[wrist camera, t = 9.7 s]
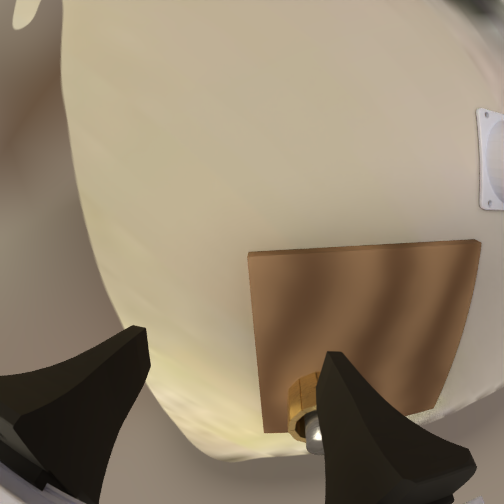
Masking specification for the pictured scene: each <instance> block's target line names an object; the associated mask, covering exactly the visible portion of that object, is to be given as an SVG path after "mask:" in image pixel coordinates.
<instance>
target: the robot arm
mask: <svg viewBox="0 0 504 504" xmlns="http://www.w3.org/2000/svg"><path fill="white" fill-rule="evenodd" d="M485 114H486V116H485ZM476 116H477V126H478V137H479V153H480V200H479V204H480V207H481V208H482V209H484V210H504V114H501V113H498V112H494V111H491V110H488V109H484V108H478V109H477V110H476ZM488 201H489V205H488ZM150 367H151V363H150V356H149V349H148V341H147V332H146V328H144V327H139V326H134V325H132V326H130V327H128V328H127V329H125V330H123V331H121V332H120V333H118V334H116V335H114V336H113V337H111V338H109V339H108V340H106V341H104V342H102V343H101V344H99V345H97V346H96V347H93V348H91V349H90V350H87V351H85V352H83V353H81V354H80V355H78V356H76V357H74V358H71V359H69V360H66V361H64V362H61V363H58V364H56V365H53V366H50V367H46V368H43V369H39V370H35V371H32V372H27V373H22V374H15V375H7V376H0V504H99V498H100V493H101V488H102V483H103V479H104V476H105V472H106V468H107V464H108V461H109V458H110V455H111V452H112V449H113V446H114V443H115V441H116V438H117V435H118V433H119V430H120V428H121V426H122V424H123V422H124V420H125V418H126V417H127V415H128V413H129V411H130V409H131V407H132V406H133V404H134V402H135V400H136V398H137V397H138V394H139V393H140V391H141V389H142V387H143V385H144V383H145V380H146V378H147V375H148V372H149V370H150ZM316 408H317V415H318V420H319V426H320V432H321V438H322V443H323V449H324V456H325V474H326V496H325V497H326V498H325V504H452V503H453V502H454V497H453V493H454V492H455V491H456V490H458V489H459V488H460V487H461V486H462V485H464V484H465V483H466V482H467V481H468V480H469V479H470V478H471V477H472V476H473V475H474V473H475V471H476V468H477V466H476V464H475V462H474V459H473V457H472V455H471V453H470V451H469V449H467V448H464V447H462V446H459V445H456V444H454V443H451V442H449V441H446V440H444V439H442V438H440V437H438V436H436V435H434V434H432V433H430V432H428V431H426V430H425V429H423V428H422V427H420V426H419V425H417V424H415V423H414V422H412V421H411V420H409V419H408V418H407V417H405V416H404V415H403V414H401V413H400V412H399V411H398V410H396V409H395V408H394V407H393V406H392V405H390V404H389V403H388V402H387V401H386V400H385V399H384V398H383V397H382V396H381V395H380V394H379V393H378V392H377V391H376V390H375V389H374V388H373V387H372V386H371V385H370V384H369V383H368V382H367V381H366V380H365V378H364V377H363V376H362V375H361V374H360V373H359V371H358V370H357V369H356V368H355V367H354V366H353V364H352V363H351V362H350V361H349V360H348V358H347V357H346V356H345V355H344V354H343V353H342V352H339V351H327V353H326V356H325V359H324V363H323V366H322V369H321V372H320V376H319V379H318V382H317V385H316ZM464 504H485V503H484V501H483V498H482V496H479V497H477V498H475V499H473V500H470V501H468V502H466V503H464Z"/></svg>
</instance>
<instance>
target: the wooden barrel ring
mask: <svg viewBox="0 0 504 504" xmlns="http://www.w3.org/2000/svg"><path fill="white" fill-rule="evenodd" d="M319 376H320V372H314V373H311V374H309V375H306V376H304V377H301V378H300V379H298V380H297V381H296V382H295V383H294V384H293V385H292V386H291V387H290V388H289V389H288V397H287V415H288V432H289V433H290V434H291V435H292V436H293V438H294V439H296V440H298V441H302V442H305V443H306V434H305V422H304V415H305V414H306V413H308V412H311V411H314V410H317V408H316V385H317V382H318V379H319Z"/></svg>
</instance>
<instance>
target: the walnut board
mask: <svg viewBox="0 0 504 504" xmlns="http://www.w3.org/2000/svg"><path fill="white" fill-rule="evenodd" d="M480 251H481V242H479V241H477V240H475V239H471V240H453V241H436V242H418V243H400V244H382V245H365V246H347V247H329V248H311V249H294V250H276V251H258V252H249V253H248V256H247V258H248V269H249V280H250V291H251V302H252V313H253V323H254V334H255V345H256V355H257V366H258V376H259V387H260V397H261V407H262V417H263V427H264V433H287V432H288V415H287V397H288V389H289V388H290V387H291V386H292V385H293V384H294V383H295V382H296V381H297V380H298V379H300V378H301V377H304V376H306V375H309V374H311V373H314V372H321V369H322V366H323V363H324V359H325V356H326V353H327V351H339V352H342V353H343V354H344V355H345V356H346V357H347V358H348V360H349V361H350V362H351V363H352V364H353V366H354V367H355V368H356V369H357V370H358V371H359V373H360V374H361V375H362V376H363V377H364V378H365V380H366V381H367V382H368V383H369V384H370V385H371V386H372V387H373V388H374V389H375V390H376V391H377V392H378V393H379V394H380V395H381V396H382V397H383V398H384V399H385V400H386V401H387V402H388V403H389V404H390V405H392V406H393V407H394V408H395V409H396V410H398V411H399V412H400V413H401V414H403V415H404V416H407V415H411V414H415V413H418V412H422V411H426V410H429V409H433V408H434V406H435V404H436V402H437V400H438V397H439V395H440V393H441V390H442V388H443V386H444V383H445V381H446V378H447V376H448V373H449V371H450V368H451V365H452V363H453V360H454V357H455V354H456V351H457V348H458V345H459V342H460V339H461V336H462V333H463V329H464V326H465V322H466V319H467V315H468V311H469V307H470V303H471V299H472V295H473V290H474V285H475V280H476V275H477V270H478V264H479V258H480Z"/></svg>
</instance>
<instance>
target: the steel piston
mask: <svg viewBox="0 0 504 504" xmlns="http://www.w3.org/2000/svg"><path fill="white" fill-rule="evenodd" d="M304 422H305V434H306V447H307V450H308V452H310V453H312V454H315V455H324V449H323V443H322V438H321V432H320V426H319V420H318V415H317V410H314V411H311V412H308V413H306V414H305V415H304Z"/></svg>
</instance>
